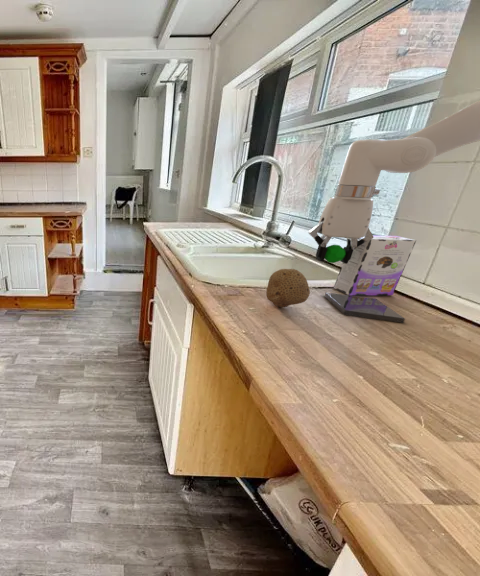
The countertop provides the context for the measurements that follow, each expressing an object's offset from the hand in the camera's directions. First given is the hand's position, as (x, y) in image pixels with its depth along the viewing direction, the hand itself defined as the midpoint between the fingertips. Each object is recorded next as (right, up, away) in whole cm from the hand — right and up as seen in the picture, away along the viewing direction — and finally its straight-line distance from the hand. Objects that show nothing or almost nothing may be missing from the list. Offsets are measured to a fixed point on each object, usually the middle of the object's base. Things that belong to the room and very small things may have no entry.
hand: (331, 260), depth 85 cm
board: (+2, -13, -7) cm, 15 cm away
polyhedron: (0, -1, 0) cm, 1 cm away
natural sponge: (-19, -13, -8) cm, 24 cm away
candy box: (+13, -9, +5) cm, 16 cm away
